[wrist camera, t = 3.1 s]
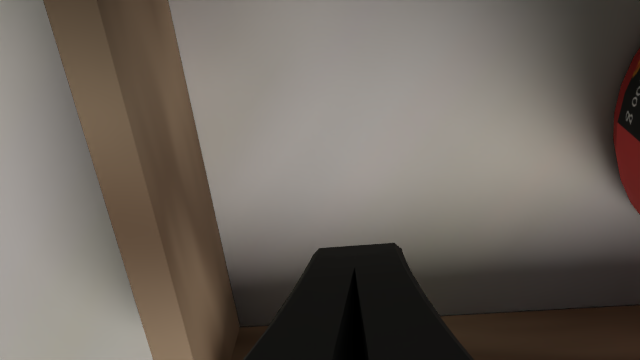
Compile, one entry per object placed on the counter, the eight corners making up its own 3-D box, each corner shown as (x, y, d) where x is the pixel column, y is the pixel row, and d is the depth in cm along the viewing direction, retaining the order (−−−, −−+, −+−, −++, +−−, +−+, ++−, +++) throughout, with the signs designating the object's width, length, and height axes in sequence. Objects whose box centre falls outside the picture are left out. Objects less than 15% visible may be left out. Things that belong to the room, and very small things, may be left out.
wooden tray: (859, 320, 18) (989, 430, 14) (215, 353, 20) (182, 456, 16) (1048, -254, 12) (1357, -321, 8) (98, -120, 14) (5, -125, 10)
